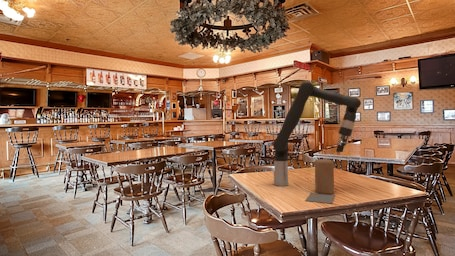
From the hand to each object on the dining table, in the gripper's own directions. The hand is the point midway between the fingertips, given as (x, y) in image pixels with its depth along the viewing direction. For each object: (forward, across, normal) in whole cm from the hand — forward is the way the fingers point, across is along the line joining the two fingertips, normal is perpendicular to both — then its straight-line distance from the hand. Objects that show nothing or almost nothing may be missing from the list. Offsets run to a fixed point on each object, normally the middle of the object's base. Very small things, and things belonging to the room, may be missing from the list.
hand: (339, 152), depth 172 cm
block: (+27, +5, -2) cm, 28 cm away
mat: (+30, +19, -6) cm, 36 cm away
